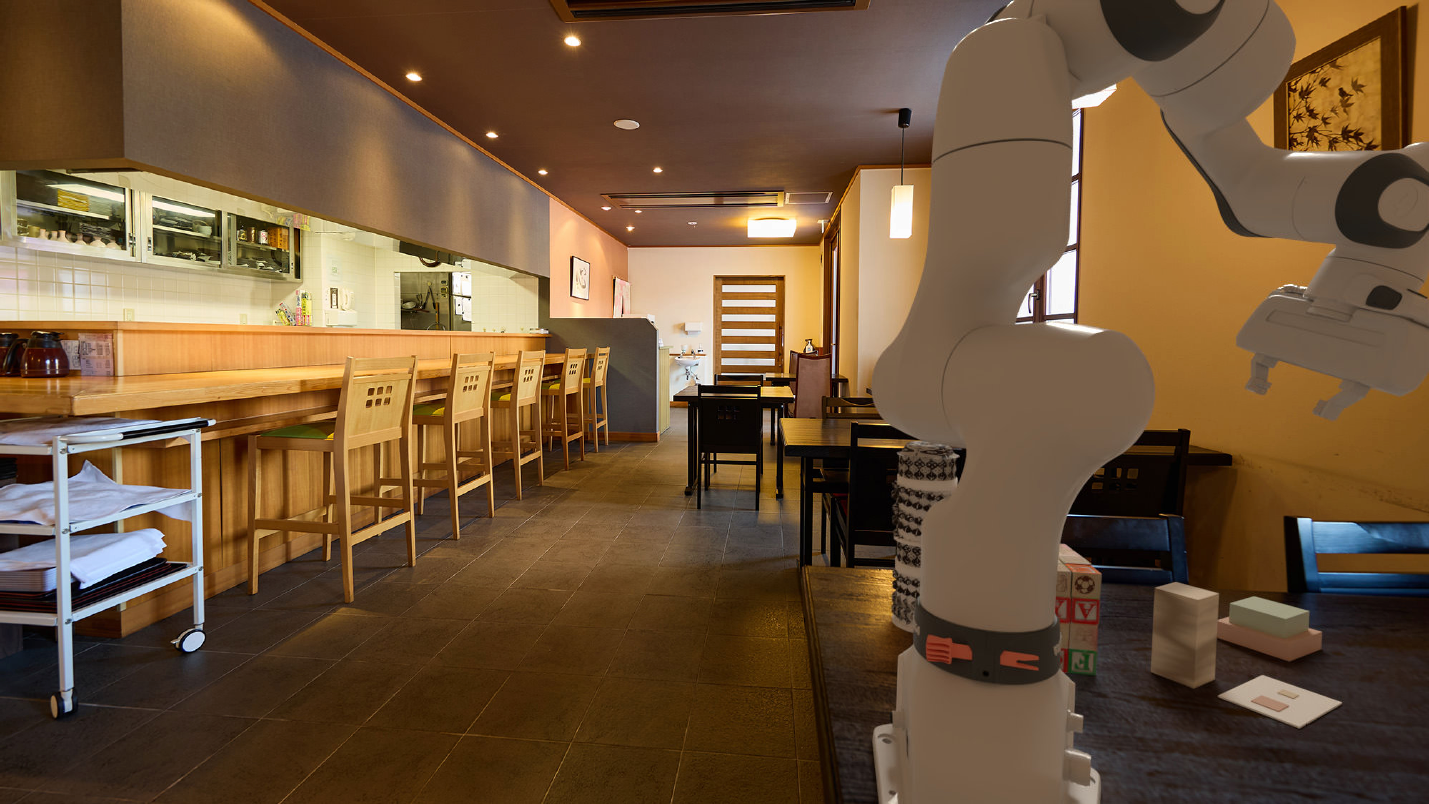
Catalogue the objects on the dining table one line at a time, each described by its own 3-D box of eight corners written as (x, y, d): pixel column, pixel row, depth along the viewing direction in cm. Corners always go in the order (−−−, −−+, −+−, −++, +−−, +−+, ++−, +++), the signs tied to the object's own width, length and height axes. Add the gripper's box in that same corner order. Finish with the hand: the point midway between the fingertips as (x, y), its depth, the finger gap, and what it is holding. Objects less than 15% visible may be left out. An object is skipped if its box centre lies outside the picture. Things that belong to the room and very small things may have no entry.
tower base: (1320, 651, 84) (1323, 612, 84) (1289, 663, 81) (1291, 623, 80) (1247, 628, 91) (1249, 592, 91) (1215, 639, 88) (1217, 601, 87)
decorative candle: (875, 615, 94) (878, 440, 93) (929, 607, 98) (933, 438, 96) (914, 640, 86) (919, 448, 84) (973, 631, 89) (978, 445, 87)
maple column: (1214, 679, 76) (1219, 593, 75) (1193, 688, 74) (1198, 600, 73) (1171, 663, 80) (1175, 581, 79) (1150, 672, 77) (1154, 587, 77)
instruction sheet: (1299, 728, 65) (1299, 725, 65) (1218, 697, 72) (1218, 694, 72) (1341, 704, 70) (1342, 701, 70) (1262, 676, 76) (1262, 674, 76)
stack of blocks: (998, 606, 99) (1000, 524, 98) (1043, 609, 97) (1046, 527, 97) (1039, 671, 78) (1043, 568, 77) (1098, 677, 76) (1102, 571, 76)
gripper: (1258, 273, 85) (1199, 372, 89) (1430, 301, 66) (1345, 425, 69) (1297, 290, 86) (1238, 386, 90) (1479, 322, 66) (1392, 443, 70)
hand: (1286, 404), depth 79 cm, fingers open, 8 cm apart
